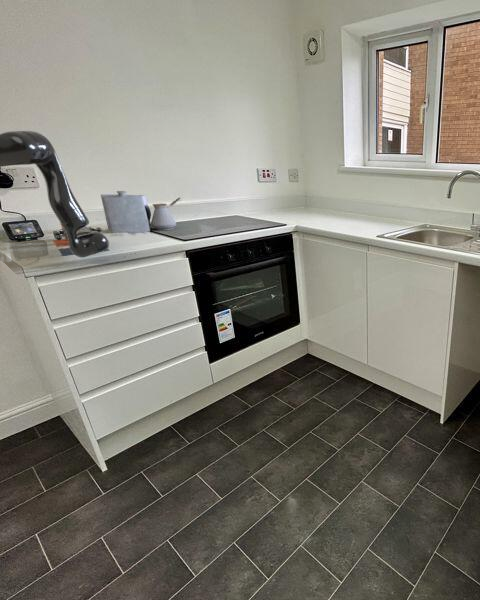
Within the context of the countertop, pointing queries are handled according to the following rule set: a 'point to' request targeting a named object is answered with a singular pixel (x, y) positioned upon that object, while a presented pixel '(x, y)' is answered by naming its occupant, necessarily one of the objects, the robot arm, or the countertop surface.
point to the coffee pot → (163, 217)
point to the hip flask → (125, 213)
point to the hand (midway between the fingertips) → (76, 230)
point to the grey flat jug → (132, 195)
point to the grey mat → (68, 251)
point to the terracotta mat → (61, 243)
